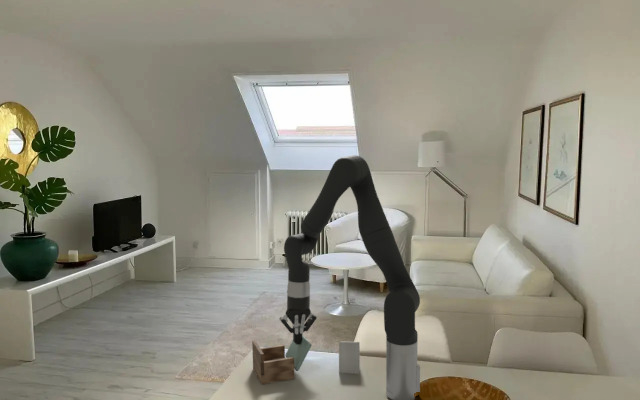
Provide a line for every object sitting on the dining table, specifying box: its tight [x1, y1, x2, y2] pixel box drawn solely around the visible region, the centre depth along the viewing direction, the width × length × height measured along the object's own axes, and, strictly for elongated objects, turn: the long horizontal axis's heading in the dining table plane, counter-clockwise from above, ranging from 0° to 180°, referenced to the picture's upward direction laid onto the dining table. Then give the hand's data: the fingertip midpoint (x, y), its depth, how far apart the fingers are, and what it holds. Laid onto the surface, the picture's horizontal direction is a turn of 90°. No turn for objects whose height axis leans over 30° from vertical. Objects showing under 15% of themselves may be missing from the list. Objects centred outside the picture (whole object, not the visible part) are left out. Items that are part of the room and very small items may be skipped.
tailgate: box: [285, 334, 313, 372], centre depth 171 cm, size 1×12×10 cm, turn 21°
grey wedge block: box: [338, 340, 361, 374], centre depth 170 cm, size 4×7×10 cm, turn 84°
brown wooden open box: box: [251, 339, 296, 385], centre depth 168 cm, size 11×12×10 cm
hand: (297, 343), depth 170 cm, fingers closed
